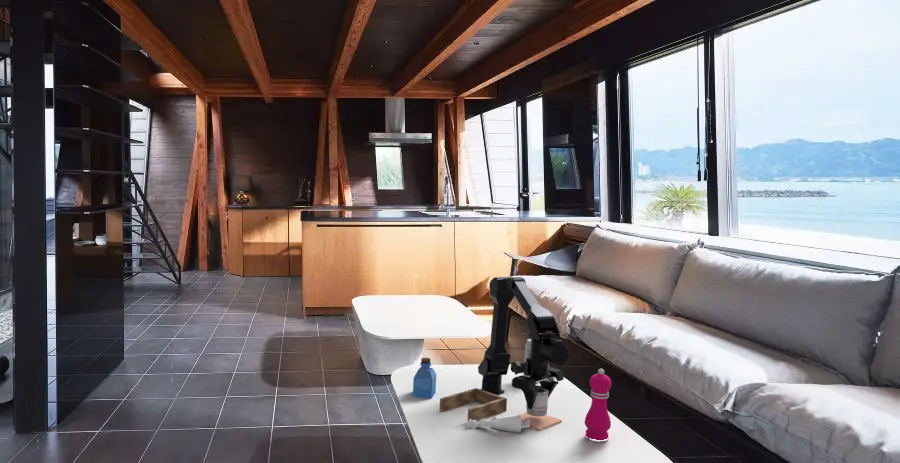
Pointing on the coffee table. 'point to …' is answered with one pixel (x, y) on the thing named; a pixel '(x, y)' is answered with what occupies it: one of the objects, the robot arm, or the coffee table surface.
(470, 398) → the frame
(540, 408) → the camera lens
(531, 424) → the terracotta coaster
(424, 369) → the perfume bottle
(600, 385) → the pepper mill
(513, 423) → the woman figurine
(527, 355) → the energy drink can
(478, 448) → the coffee table surface
